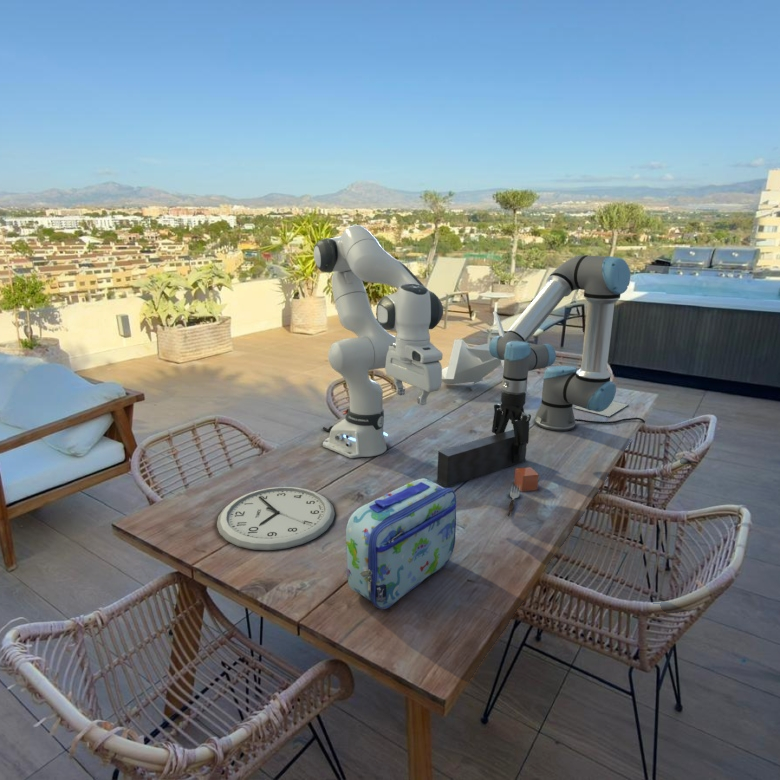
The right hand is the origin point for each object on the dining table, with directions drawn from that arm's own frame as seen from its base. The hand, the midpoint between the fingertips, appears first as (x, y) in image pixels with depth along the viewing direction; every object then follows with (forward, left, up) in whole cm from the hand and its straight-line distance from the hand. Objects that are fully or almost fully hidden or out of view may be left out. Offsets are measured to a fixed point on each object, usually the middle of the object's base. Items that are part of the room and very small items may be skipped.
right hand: (507, 458), depth 170 cm
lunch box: (+28, +64, -1) cm, 70 cm away
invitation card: (-46, -64, -1) cm, 78 cm away
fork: (+1, +27, -1) cm, 27 cm away
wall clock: (+63, +43, -1) cm, 77 cm away
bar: (+8, +7, -1) cm, 11 cm away
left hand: (+30, +27, +28) cm, 49 cm away
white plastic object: (+6, -76, -1) cm, 76 cm away
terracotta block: (-4, +16, -1) cm, 17 cm away
